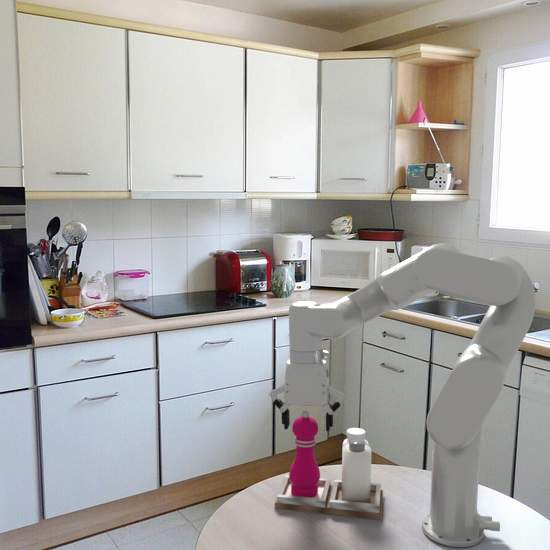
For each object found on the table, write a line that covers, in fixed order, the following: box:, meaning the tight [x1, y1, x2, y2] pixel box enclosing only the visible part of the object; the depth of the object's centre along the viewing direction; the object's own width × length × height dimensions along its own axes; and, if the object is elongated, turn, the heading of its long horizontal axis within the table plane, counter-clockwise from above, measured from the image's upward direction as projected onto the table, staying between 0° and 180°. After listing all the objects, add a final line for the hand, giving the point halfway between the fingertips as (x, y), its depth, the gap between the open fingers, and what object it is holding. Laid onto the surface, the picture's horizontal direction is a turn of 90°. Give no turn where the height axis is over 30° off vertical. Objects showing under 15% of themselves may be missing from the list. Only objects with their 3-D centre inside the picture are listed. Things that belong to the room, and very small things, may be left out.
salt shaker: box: [341, 439, 372, 503], centre depth 144 cm, size 7×7×14 cm
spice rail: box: [274, 474, 384, 520], centre depth 146 cm, size 24×11×3 cm, turn 79°
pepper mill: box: [288, 410, 321, 498], centre depth 146 cm, size 7×7×20 cm
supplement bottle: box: [342, 427, 370, 448], centre depth 157 cm, size 7×7×13 cm
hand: (307, 428), depth 145 cm, fingers open, 9 cm apart
